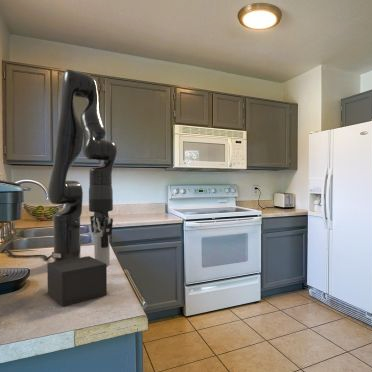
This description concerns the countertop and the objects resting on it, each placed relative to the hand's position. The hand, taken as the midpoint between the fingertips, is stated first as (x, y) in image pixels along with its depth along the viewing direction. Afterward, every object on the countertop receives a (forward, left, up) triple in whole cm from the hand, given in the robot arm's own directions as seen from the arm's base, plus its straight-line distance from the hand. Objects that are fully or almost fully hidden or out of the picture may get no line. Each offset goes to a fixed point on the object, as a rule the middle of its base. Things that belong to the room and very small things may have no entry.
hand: (101, 246), depth 109 cm
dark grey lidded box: (+13, -12, -10) cm, 21 cm away
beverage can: (0, 0, -8) cm, 8 cm away
